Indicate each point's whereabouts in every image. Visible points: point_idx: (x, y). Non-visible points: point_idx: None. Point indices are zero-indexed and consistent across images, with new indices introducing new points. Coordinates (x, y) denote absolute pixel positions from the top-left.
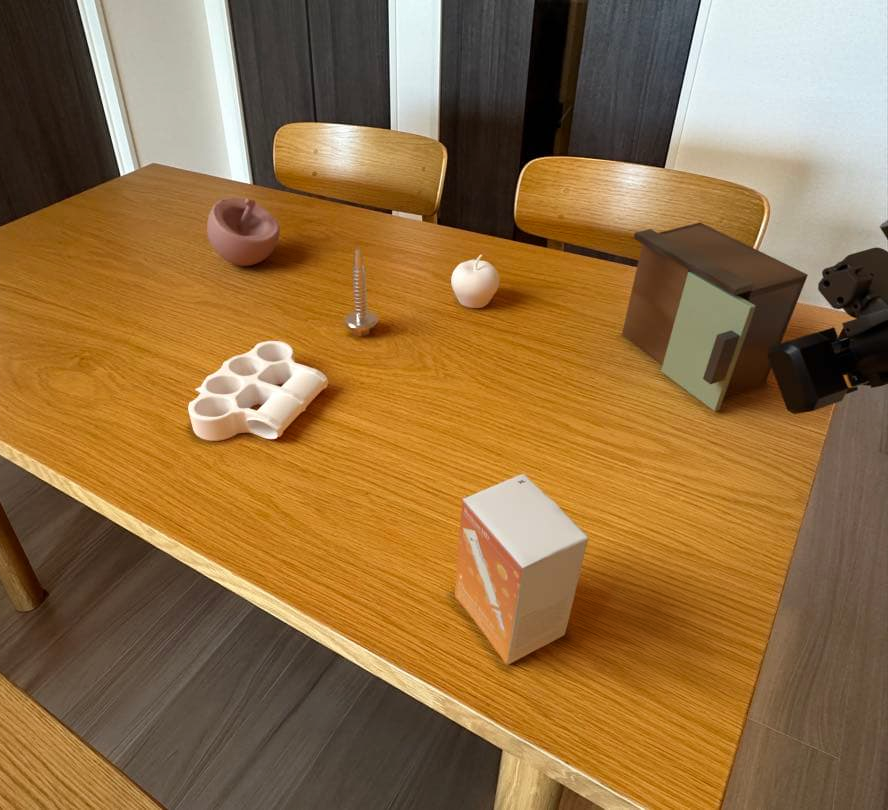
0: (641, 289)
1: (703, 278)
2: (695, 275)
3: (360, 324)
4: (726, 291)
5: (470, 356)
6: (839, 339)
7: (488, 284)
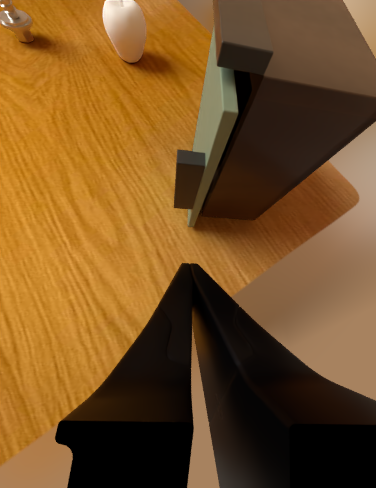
0: None
1: None
2: None
3: (4, 20)
4: None
5: (74, 93)
6: (267, 421)
7: (122, 28)
